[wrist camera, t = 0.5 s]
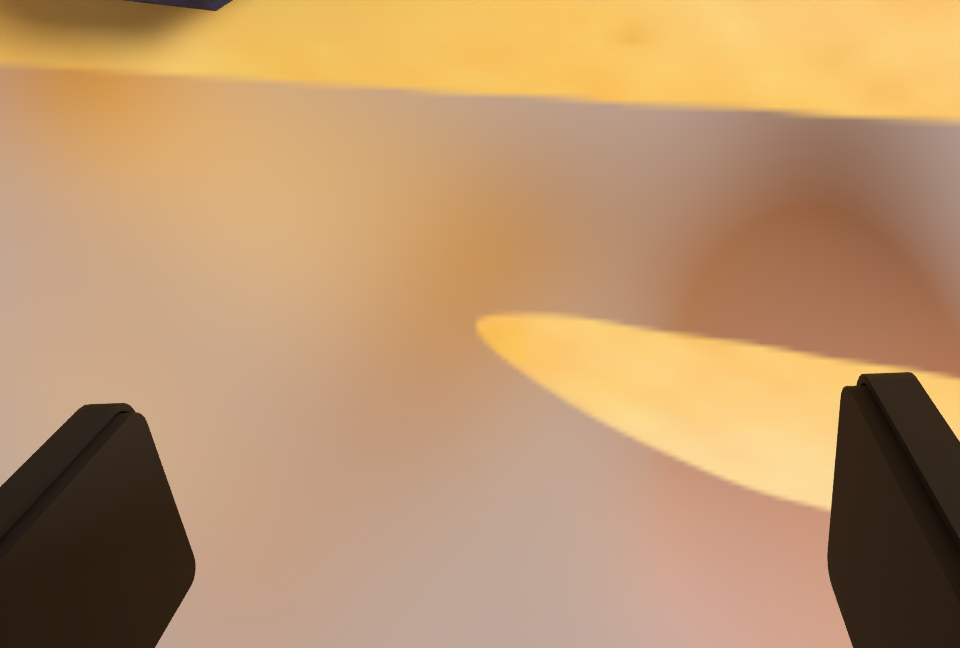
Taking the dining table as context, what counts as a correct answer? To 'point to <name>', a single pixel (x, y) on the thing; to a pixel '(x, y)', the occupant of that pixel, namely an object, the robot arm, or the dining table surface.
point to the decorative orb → (189, 3)
